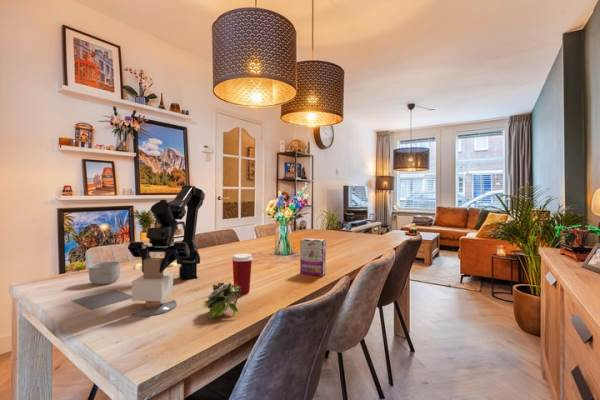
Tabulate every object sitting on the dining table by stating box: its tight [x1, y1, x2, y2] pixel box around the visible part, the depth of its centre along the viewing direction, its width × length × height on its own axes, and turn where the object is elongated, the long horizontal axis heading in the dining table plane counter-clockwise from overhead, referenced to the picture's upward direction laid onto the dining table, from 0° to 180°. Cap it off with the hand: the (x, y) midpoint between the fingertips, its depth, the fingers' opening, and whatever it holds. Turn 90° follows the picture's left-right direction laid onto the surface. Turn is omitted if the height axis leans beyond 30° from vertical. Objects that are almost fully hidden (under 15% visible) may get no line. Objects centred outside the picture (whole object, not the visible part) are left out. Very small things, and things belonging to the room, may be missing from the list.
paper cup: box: [231, 253, 253, 296], centre depth 113 cm, size 8×8×14 cm
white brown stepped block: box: [131, 257, 174, 302], centre depth 97 cm, size 9×9×12 cm
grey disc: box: [131, 300, 178, 317], centre depth 98 cm, size 14×14×4 cm
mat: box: [71, 289, 132, 311], centre depth 103 cm, size 14×14×1 cm
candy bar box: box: [299, 237, 327, 277], centre depth 141 cm, size 11×5×16 cm, turn 69°
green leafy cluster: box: [204, 282, 242, 320], centre depth 94 cm, size 11×11×12 cm
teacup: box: [87, 260, 121, 286], centre depth 122 cm, size 14×11×8 cm
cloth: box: [133, 254, 179, 271], centre depth 149 cm, size 22×19×6 cm
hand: (151, 272), depth 96 cm, fingers closed on white brown stepped block, 5 cm apart
